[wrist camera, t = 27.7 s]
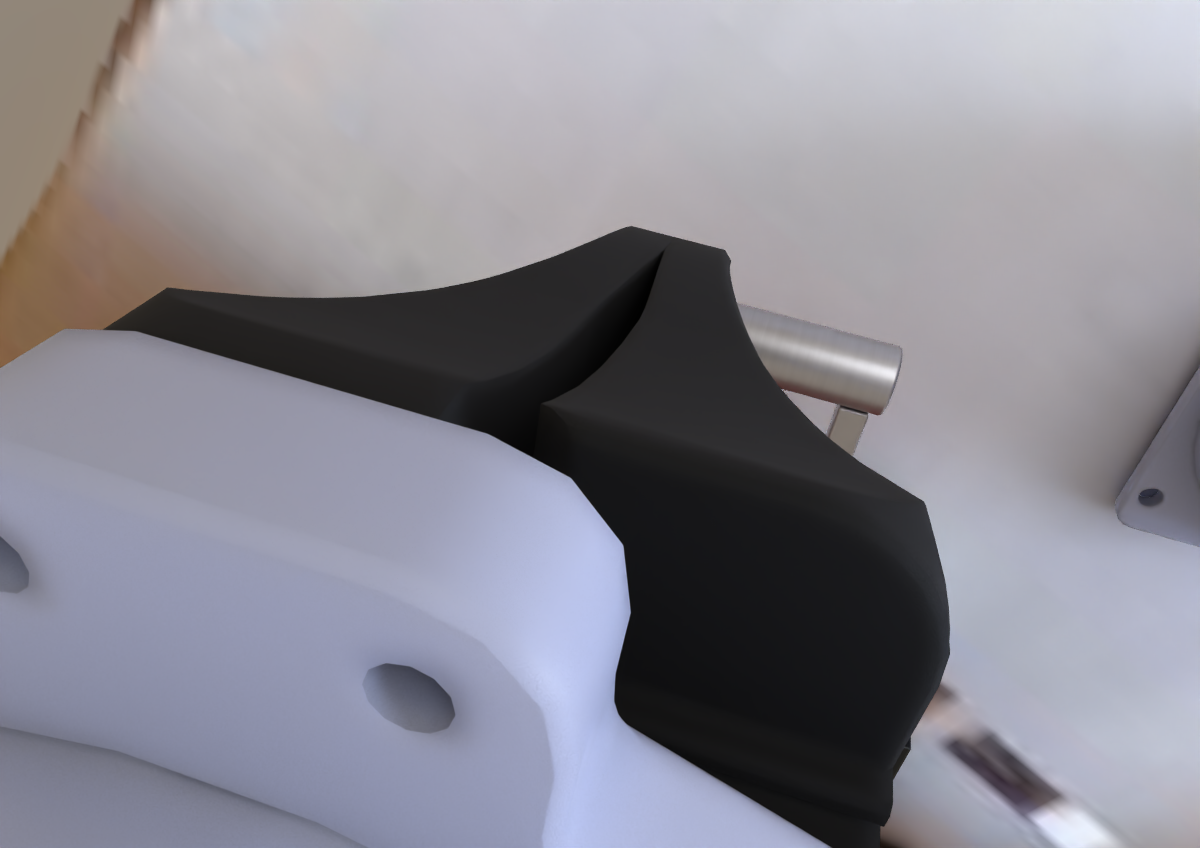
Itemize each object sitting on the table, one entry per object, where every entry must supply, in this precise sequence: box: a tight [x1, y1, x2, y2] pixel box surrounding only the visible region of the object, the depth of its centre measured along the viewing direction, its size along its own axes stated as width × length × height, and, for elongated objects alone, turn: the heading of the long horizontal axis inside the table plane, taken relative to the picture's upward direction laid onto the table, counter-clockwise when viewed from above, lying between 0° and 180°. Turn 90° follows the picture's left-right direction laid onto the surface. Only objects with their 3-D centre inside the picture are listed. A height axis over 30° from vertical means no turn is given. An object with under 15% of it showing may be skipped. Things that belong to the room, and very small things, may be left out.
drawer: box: [737, 303, 902, 456], centre depth 24 cm, size 19×10×7 cm, turn 171°
